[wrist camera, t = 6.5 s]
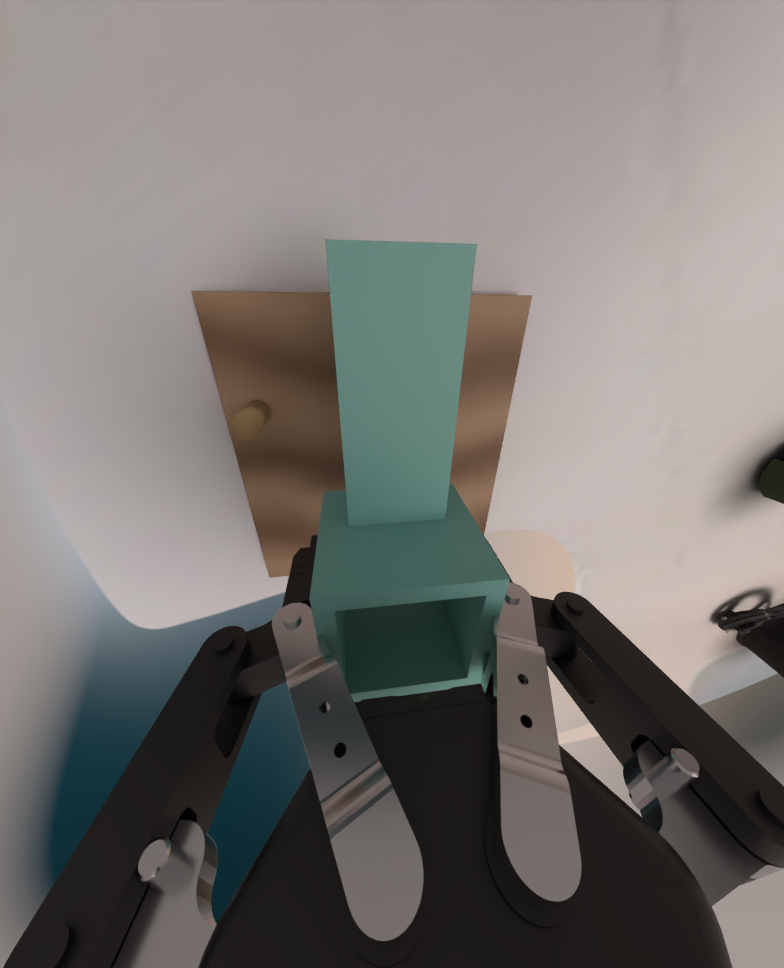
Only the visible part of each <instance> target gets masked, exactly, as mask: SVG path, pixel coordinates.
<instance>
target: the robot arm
mask: <svg viewBox="0 0 784 968" xmlns="http://www.w3.org/2000/svg"><path fill="white" fill-rule="evenodd" d="M317 537H318V535H312V537H311V543H310V547H307V548H300V549H299V550H298V551H297V553H296V554H295V555H294V556H293V560H292V565H291V570H290V576H289V579H288V583H287V588H286V593H285V597H284V602H283V606H282V608H281V609H280V610H279V611H278V612H277V613H276V614H275V616H274V618H273V620H271V621H270V622H268V623H267V624H265V625H263V626H260V627H258V628H255V629H253V630H250V631H247V632H245V630H244V629H243V628H241V627H238V626H229V627H225V628H222V629H220V630H218V631H216V632H215V633H213V634H212V635H211V636H210V637H209V638H208V639H207V640H206V641H205V642H204V644H203V645H202V647H201V648H200V650H199V652H198V653H197V655H196V657H195V658H194V660H193V661H192V663H191V665H190V666H189V668H188V670H187V671H186V673H185V674H184V676H183V678H182V679H181V681H180V682H179V684H178V685H177V687H176V689H175V690H174V692H173V694H172V695H171V697H170V698H169V700H168V702H167V703H166V705H165V706H164V708H163V710H162V711H161V713H160V715H159V716H158V718H157V719H156V721H155V723H154V724H153V726H152V728H151V729H150V731H149V732H148V734H147V735H146V737H145V739H144V740H143V742H142V743H141V745H140V747H139V748H138V750H137V751H136V753H135V755H134V756H133V758H132V760H131V761H130V763H129V764H128V766H127V768H126V769H125V771H124V772H123V774H122V776H121V777H120V779H119V781H118V782H117V784H116V785H115V787H114V789H113V790H112V792H111V793H110V795H109V797H108V798H107V800H106V801H105V803H104V805H103V806H102V808H101V809H100V811H99V813H98V814H97V816H96V817H95V819H94V821H93V822H92V824H91V826H90V827H89V829H88V830H87V832H86V834H85V835H84V837H83V838H82V840H81V842H80V843H79V845H78V846H77V848H76V850H75V851H74V853H73V854H72V856H71V858H70V860H69V861H68V863H67V864H66V866H65V868H64V869H63V871H62V872H61V874H60V875H59V877H58V879H57V880H56V882H55V883H54V885H53V887H52V888H51V890H50V892H49V893H48V895H47V896H46V898H45V900H44V901H43V903H42V904H41V906H40V908H39V909H38V911H37V912H36V914H35V916H34V918H33V919H32V920H31V922H30V924H29V925H28V927H27V929H26V930H25V932H24V933H23V935H22V937H21V938H20V940H19V941H18V943H17V945H16V946H15V948H14V949H13V951H12V953H11V955H10V956H9V958H8V960H7V962H6V963H5V965H4V967H3V968H732V964H731V961H730V958H729V954H728V951H727V947H726V944H725V941H724V938H723V934H722V931H721V928H720V925H719V923H718V921H717V918H716V915H715V913H714V911H713V909H712V906H713V905H714V904H715V903H717V902H718V901H719V900H721V899H722V898H723V897H725V896H726V895H727V894H729V893H730V892H731V891H732V890H734V889H735V888H736V887H738V886H740V885H742V884H745V883H747V882H750V881H753V880H756V879H758V878H761V877H764V876H766V875H769V874H772V873H774V872H777V871H780V870H782V869H784V786H783V785H782V784H781V783H780V782H778V781H777V780H776V779H775V778H774V777H773V776H772V775H771V774H770V773H769V772H768V771H767V770H766V769H765V768H763V766H762V765H761V764H760V763H759V762H757V761H756V760H755V759H754V758H753V757H752V756H751V755H750V754H749V753H748V752H747V751H746V750H745V749H744V748H743V747H741V746H740V744H738V743H737V742H736V741H735V740H734V739H733V738H732V737H731V736H730V735H729V734H728V733H727V732H726V731H725V730H724V729H723V728H722V727H721V726H720V725H718V724H717V723H716V722H715V721H714V720H713V719H712V718H711V717H710V716H709V715H708V714H707V713H706V712H705V711H704V710H703V709H701V708H700V706H698V705H697V704H696V703H695V702H694V701H693V700H692V699H691V698H690V697H689V696H688V695H687V694H686V693H685V692H684V691H683V690H682V689H681V688H679V687H678V686H677V685H676V684H675V683H674V682H673V681H672V680H671V679H670V678H669V677H668V676H667V675H666V674H665V673H664V672H663V671H662V670H661V669H659V668H658V667H657V666H656V665H655V664H654V663H653V662H652V661H651V660H650V659H649V658H648V657H647V656H646V655H645V654H644V653H643V652H642V651H641V650H639V649H638V648H637V647H636V646H635V645H634V644H633V643H632V642H631V641H630V640H629V639H628V638H627V637H626V636H625V635H624V634H623V633H622V632H620V631H619V630H618V629H617V628H616V627H615V626H614V625H613V624H612V623H611V622H610V621H609V620H608V619H607V618H606V617H605V616H604V615H603V614H602V613H600V612H599V611H598V610H597V609H596V608H595V607H594V606H593V605H592V604H591V603H590V602H589V601H588V600H586V599H585V598H583V597H582V596H580V595H578V594H575V593H571V592H561V593H559V594H557V595H556V597H555V598H554V600H549V599H543V598H538V597H533V596H530V594H529V593H528V592H527V591H526V590H525V589H524V588H523V587H521V586H520V585H518V584H515V583H513V582H512V580H511V578H510V577H509V578H510V581H509V585H508V588H507V592H506V595H505V599H504V603H503V606H502V610H501V613H500V615H494V616H493V620H492V623H491V648H490V652H485V653H484V654H483V658H482V671H481V683H480V684H473V685H465V686H458V687H452V688H450V689H448V690H446V691H444V692H442V693H439V694H437V695H435V696H433V697H431V698H429V699H426V700H417V699H411V698H404V697H398V696H385V697H378V698H371V699H363V700H361V704H362V710H360V711H358V710H357V708H356V706H355V703H354V701H353V699H352V696H351V694H350V692H349V689H348V687H347V685H346V682H345V680H344V678H343V675H342V673H341V671H340V669H339V666H338V664H337V662H336V660H335V658H334V656H333V655H331V654H330V652H329V650H328V648H327V645H326V643H325V641H324V638H323V636H322V634H321V635H316V630H315V625H314V620H313V615H312V609H311V604H310V599H309V598H310V591H311V583H312V576H313V568H314V560H315V553H316V545H317ZM487 542H488V541H487ZM488 543H489V542H488ZM489 545H490V544H489ZM490 547H491V545H490ZM491 548H492V547H491ZM492 550H493V549H492ZM493 552H494V551H493ZM494 553H495V552H494ZM495 555H496V554H495ZM496 556H497V555H496ZM498 560H499V559H498ZM499 561H500V560H499ZM500 563H501V562H500ZM501 565H502V564H501ZM502 566H503V565H502ZM503 568H504V567H503ZM504 570H505V569H504ZM505 571H506V570H505ZM506 573H507V572H506ZM507 575H508V573H507ZM508 576H509V575H508ZM583 652H584V653H585V654H584V653H583ZM591 661H592V662H593V663H592V662H591ZM547 665H548V667H549V668H550V669H551V671H552V672H553V673H554V675H555V676H556V677H557V678H558V680H559V681H560V683H561V684H562V685H563V687H564V688H565V689H566V691H567V692H568V693H569V695H570V696H571V697H572V699H573V700H574V701H575V703H576V704H577V705H578V707H579V708H580V709H581V711H582V712H583V713H584V714H585V716H586V717H587V719H588V720H589V721H590V723H591V724H592V725H593V727H594V728H595V729H596V731H597V732H598V733H599V735H600V736H601V737H602V739H603V740H604V741H605V743H606V744H607V745H608V747H609V748H610V749H611V751H612V752H613V754H614V755H615V756H616V758H617V759H618V760H619V761H620V763H621V764H622V766H623V776H624V780H625V783H626V786H627V788H628V790H629V795H630V798H631V800H632V802H633V803H634V805H635V806H636V807H637V808H638V809H639V810H640V812H641V815H642V817H641V816H640V815H638V814H637V813H636V812H635V811H634V810H633V809H632V808H630V807H629V806H628V805H627V804H626V803H625V802H624V801H623V800H621V799H620V798H619V797H618V796H617V795H615V794H614V793H613V792H612V791H611V790H610V789H609V788H608V787H606V786H605V785H604V784H603V783H602V782H601V781H600V780H599V779H597V778H596V777H595V776H594V775H593V774H592V773H591V772H589V771H588V770H587V769H586V768H585V767H584V766H583V765H581V764H580V763H579V762H578V761H577V760H576V759H575V758H574V757H572V756H571V755H570V754H569V753H568V752H567V751H566V750H564V749H563V748H562V747H561V746H560V745H559V744H558V737H557V730H556V724H555V718H554V711H553V704H552V698H551V690H550V683H549V677H548V670H547ZM598 669H599V670H598ZM285 681H287V684H288V688H289V691H290V695H291V698H292V702H293V706H294V710H295V713H296V717H297V720H298V724H299V728H300V731H301V735H302V738H303V742H304V746H305V749H306V753H307V757H308V760H309V764H310V769H309V771H308V773H307V774H306V776H305V778H304V780H303V781H302V783H301V785H300V786H299V788H298V790H297V791H296V793H295V795H294V796H293V798H292V800H291V801H290V803H289V805H288V806H287V808H286V810H285V812H284V813H283V815H282V816H281V818H280V820H279V821H278V823H277V825H276V827H275V828H274V830H273V831H272V833H271V835H270V836H269V838H268V840H267V841H266V843H265V845H264V846H263V848H262V850H261V852H260V853H259V855H258V857H257V858H256V860H255V862H254V863H253V865H252V867H251V868H250V870H249V871H248V873H247V875H246V876H245V878H244V880H243V882H242V883H241V885H240V887H239V888H238V890H237V891H236V893H235V895H234V897H233V898H232V900H231V902H230V903H229V905H228V907H227V908H226V910H225V912H224V913H223V915H222V917H221V918H220V920H219V922H218V924H217V925H216V923H215V920H214V918H213V915H212V910H211V893H212V886H213V883H214V878H215V875H216V871H217V864H218V853H217V847H216V844H215V842H214V841H213V839H212V838H211V837H210V836H209V835H208V834H207V833H208V830H209V828H210V825H211V823H212V820H213V818H214V815H215V812H216V810H217V807H218V804H219V802H220V800H221V797H222V794H223V792H224V789H225V787H226V784H227V781H228V779H229V776H230V773H231V771H232V769H233V766H234V763H235V761H236V758H237V756H238V753H239V751H240V748H241V745H242V743H243V740H244V738H245V735H246V733H247V730H248V728H249V725H250V722H251V720H252V717H253V715H254V712H255V710H256V707H257V704H258V702H259V699H260V697H261V694H262V692H264V691H266V690H268V689H270V688H273V687H275V686H277V685H279V684H281V683H283V682H285Z"/></svg>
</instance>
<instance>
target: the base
mask: <svg viewBox="0 0 784 968" xmlns="http://www.w3.org/2000/svg"><path fill="white" fill-rule="evenodd" d="M191 292H192V296H193V299H194V303H195V307H196V310H197V314H198V318H199V321H200V325H201V328H202V332H203V336H204V339H205V343H206V347H207V350H208V354H209V358H210V361H211V365H212V369H213V372H214V376H215V380H216V383H217V387H218V391H219V394H220V398H221V402H222V405H223V409H224V413H225V416H226V420H227V424H228V427H229V431H230V435H231V438H232V442H233V446H234V449H235V453H236V457H237V460H238V464H239V468H240V471H241V475H242V479H243V482H244V486H245V490H246V493H247V497H248V501H249V504H250V508H251V512H252V515H253V519H254V523H255V526H256V530H257V534H258V537H259V541H260V545H261V548H262V552H263V556H264V559H265V563H266V567H267V570H268V574H269V577H280V576H290V570H291V565H292V560H293V556H294V555H295V554H296V553H297V551H298V550H299V549H300V548H307V547H310V543H311V537H312V535H318V530H319V522H320V514H321V507H322V499H323V492H324V491H341V490H346V484H345V472H344V460H343V447H342V435H341V423H340V411H339V398H338V386H337V374H336V362H335V349H334V337H333V325H332V313H331V300H330V293H293V292H215V291H191ZM531 298H532V296H527V295H471V298H470V307H469V315H468V324H467V333H466V342H465V350H464V359H463V368H462V377H461V386H460V394H459V403H458V412H457V421H456V430H455V438H454V447H453V456H452V465H451V473H450V482H449V484H453V485H454V487H455V488H456V490H457V492H458V493H459V495H460V497H461V498H462V500H463V502H464V503H465V505H466V507H467V508H468V510H469V512H470V513H471V515H472V517H473V518H474V520H475V522H476V523H477V525H478V527H479V528H480V530H481V532H482V533H483V535H484V531H485V526H486V521H487V516H488V511H489V507H490V502H491V497H492V492H493V487H494V482H495V477H496V472H497V467H498V462H499V457H500V452H501V447H502V442H503V437H504V432H505V427H506V422H507V417H508V412H509V407H510V402H511V397H512V392H513V387H514V382H515V377H516V373H517V368H518V363H519V358H520V353H521V348H522V343H523V338H524V333H525V328H526V323H527V318H528V313H529V308H530V303H531Z"/></svg>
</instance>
